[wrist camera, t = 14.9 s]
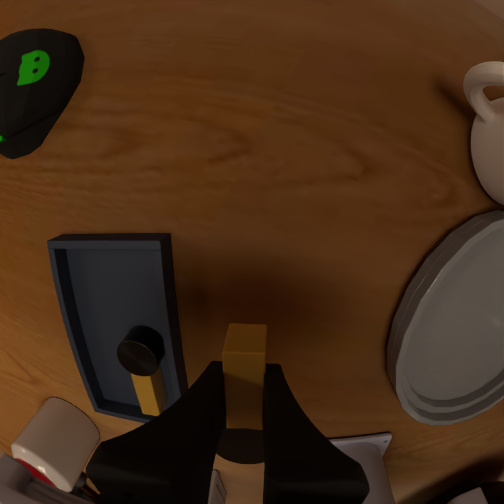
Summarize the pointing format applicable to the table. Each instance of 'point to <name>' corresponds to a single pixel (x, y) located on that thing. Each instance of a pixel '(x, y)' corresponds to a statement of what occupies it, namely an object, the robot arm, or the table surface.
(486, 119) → the mug
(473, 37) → the table surface
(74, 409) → the pill bottle
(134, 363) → the key
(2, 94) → the computer mouse
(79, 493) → the gaming controller
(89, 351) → the tray
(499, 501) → the ball
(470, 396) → the round grey plant saucer
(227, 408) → the key
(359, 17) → the table surface
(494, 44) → the table surface
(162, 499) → the robot arm
